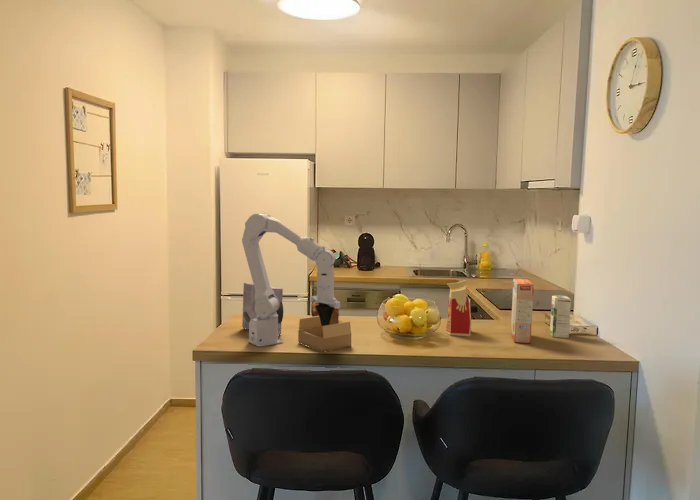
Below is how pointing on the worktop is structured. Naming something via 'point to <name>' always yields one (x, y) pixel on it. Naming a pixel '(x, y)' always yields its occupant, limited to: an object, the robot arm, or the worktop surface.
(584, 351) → the worktop surface
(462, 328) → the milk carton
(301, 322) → the far flap
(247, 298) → the cake pan box
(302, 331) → the carton
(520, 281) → the cracker box
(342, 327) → the near flap
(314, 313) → the bread
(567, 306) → the syrup box
